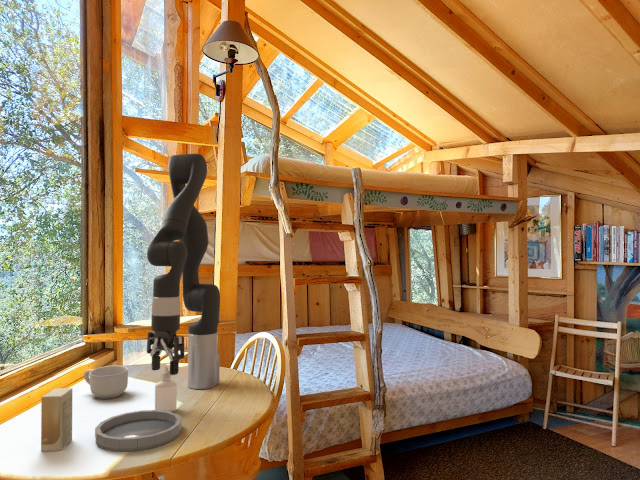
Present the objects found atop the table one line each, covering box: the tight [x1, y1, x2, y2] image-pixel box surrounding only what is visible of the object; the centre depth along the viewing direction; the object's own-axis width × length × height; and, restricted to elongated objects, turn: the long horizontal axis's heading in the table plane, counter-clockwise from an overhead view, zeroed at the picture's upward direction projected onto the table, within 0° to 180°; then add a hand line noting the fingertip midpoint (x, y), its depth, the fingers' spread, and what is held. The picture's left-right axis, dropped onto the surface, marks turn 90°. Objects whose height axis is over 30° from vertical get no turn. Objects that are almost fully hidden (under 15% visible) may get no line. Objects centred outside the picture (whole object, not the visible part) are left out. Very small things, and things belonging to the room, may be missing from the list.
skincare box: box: [40, 387, 73, 452], centre depth 108 cm, size 6×4×12 cm
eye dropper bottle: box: [154, 366, 178, 413], centre depth 131 cm, size 4×6×12 cm
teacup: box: [83, 365, 129, 400], centre depth 145 cm, size 14×11×8 cm
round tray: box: [94, 409, 183, 453], centre depth 114 cm, size 19×19×3 cm
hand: (164, 372), depth 131 cm, fingers open, 8 cm apart
